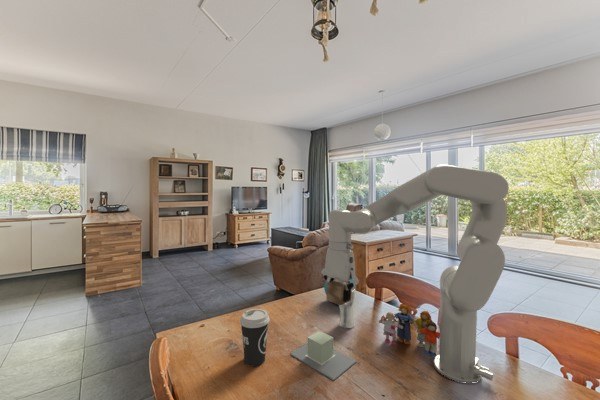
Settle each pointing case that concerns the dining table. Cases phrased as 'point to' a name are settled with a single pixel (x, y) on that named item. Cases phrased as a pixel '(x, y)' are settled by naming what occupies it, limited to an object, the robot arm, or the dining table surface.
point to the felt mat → (326, 362)
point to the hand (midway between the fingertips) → (338, 297)
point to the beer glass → (348, 311)
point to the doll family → (423, 325)
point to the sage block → (320, 346)
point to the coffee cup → (254, 335)
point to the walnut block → (336, 292)
